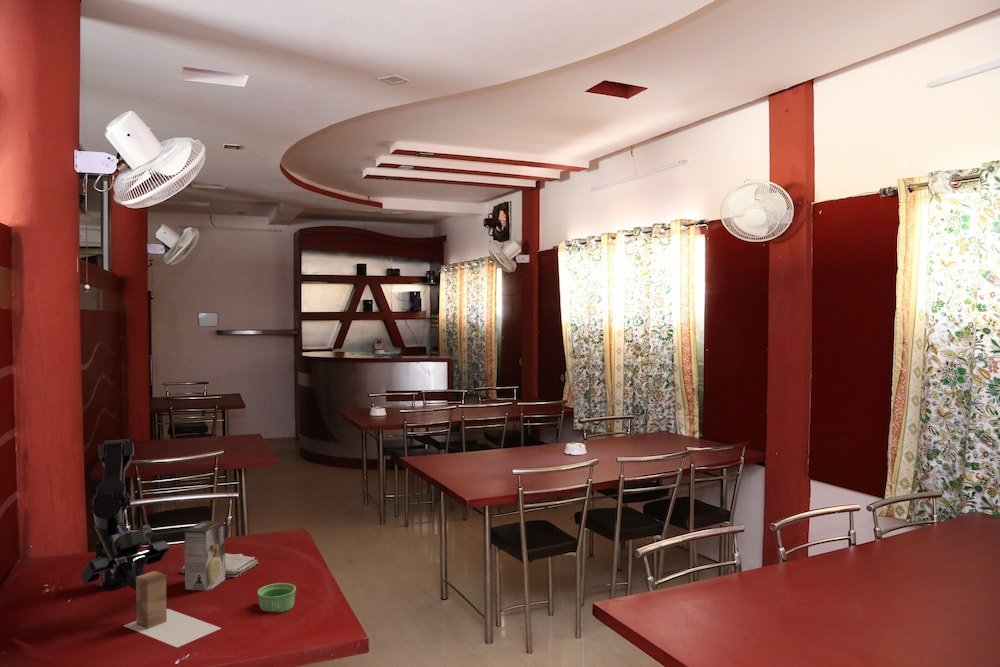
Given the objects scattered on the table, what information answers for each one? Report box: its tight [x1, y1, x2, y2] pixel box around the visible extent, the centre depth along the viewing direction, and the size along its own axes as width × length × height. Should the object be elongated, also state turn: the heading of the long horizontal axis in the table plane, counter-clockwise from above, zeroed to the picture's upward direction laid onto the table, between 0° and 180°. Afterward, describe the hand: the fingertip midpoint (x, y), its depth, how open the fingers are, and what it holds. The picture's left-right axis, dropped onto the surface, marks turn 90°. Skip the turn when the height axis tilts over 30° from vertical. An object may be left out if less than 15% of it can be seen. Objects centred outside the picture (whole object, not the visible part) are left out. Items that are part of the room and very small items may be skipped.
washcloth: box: [180, 552, 259, 578], centre depth 199 cm, size 12×18×3 cm, turn 79°
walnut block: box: [135, 570, 167, 629], centre depth 162 cm, size 4×4×11 cm
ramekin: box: [257, 582, 297, 614], centre depth 173 cm, size 9×9×4 cm
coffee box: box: [183, 520, 226, 592], centre depth 186 cm, size 9×6×16 cm
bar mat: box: [123, 608, 222, 648], centre depth 160 cm, size 20×11×1 cm, turn 58°
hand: (141, 591), depth 164 cm, fingers closed
